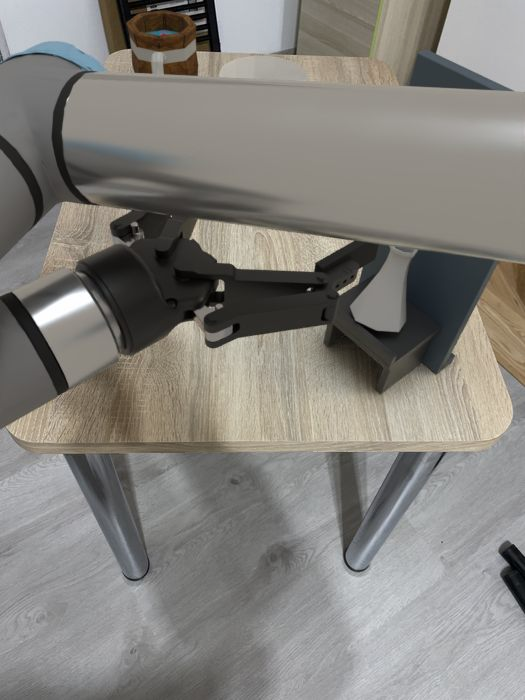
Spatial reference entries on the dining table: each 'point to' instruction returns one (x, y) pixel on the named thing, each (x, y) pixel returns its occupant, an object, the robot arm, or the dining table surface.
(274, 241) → the dining table surface
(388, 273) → the flask
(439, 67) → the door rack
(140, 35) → the mug
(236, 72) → the container
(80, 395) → the dining table surface
